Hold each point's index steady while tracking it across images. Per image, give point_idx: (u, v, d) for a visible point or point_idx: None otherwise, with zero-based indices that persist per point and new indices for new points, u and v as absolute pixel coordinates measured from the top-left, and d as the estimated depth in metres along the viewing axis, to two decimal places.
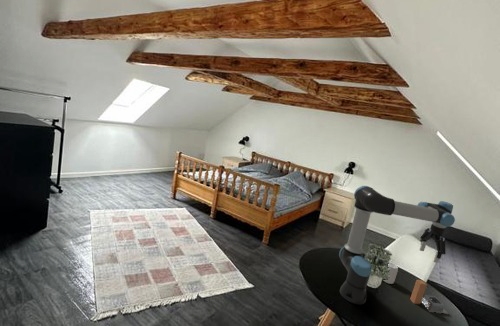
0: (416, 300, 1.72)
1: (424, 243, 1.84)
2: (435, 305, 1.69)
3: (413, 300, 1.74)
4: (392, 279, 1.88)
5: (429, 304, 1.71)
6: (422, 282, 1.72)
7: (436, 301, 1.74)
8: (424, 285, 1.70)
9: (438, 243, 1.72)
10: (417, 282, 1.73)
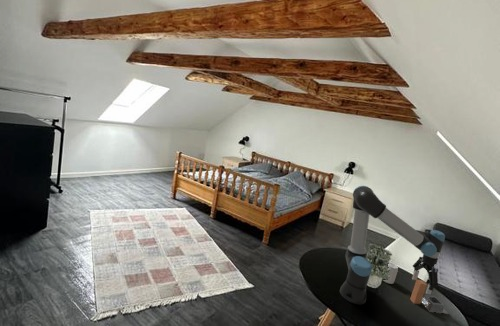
0: (416, 300, 1.72)
1: (417, 272, 1.78)
2: (435, 305, 1.69)
3: (413, 300, 1.74)
4: (392, 279, 1.88)
5: (429, 304, 1.71)
6: (422, 282, 1.72)
7: (436, 301, 1.74)
8: (424, 285, 1.70)
9: (430, 274, 1.66)
10: (417, 282, 1.73)
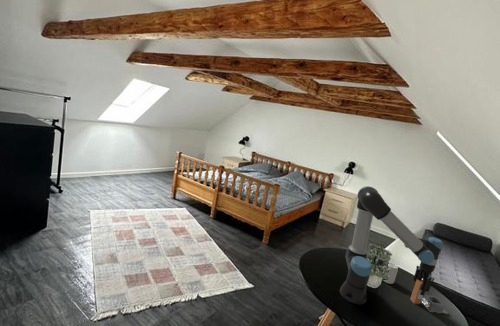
0: (416, 300, 1.72)
1: None
2: (435, 305, 1.69)
3: (413, 300, 1.74)
4: (392, 279, 1.88)
5: (429, 304, 1.71)
6: None
7: (436, 301, 1.74)
8: None
9: (425, 281, 1.69)
10: (417, 282, 1.73)
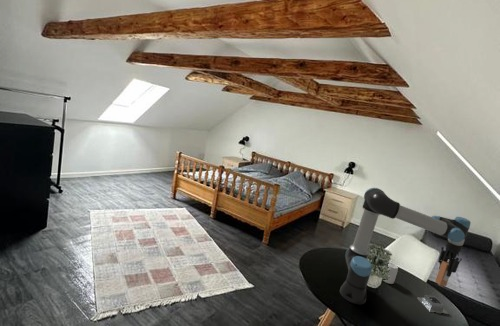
0: (441, 281, 1.68)
1: None
2: (435, 305, 1.69)
3: (439, 282, 1.69)
4: (392, 279, 1.88)
5: (429, 304, 1.71)
6: (448, 263, 1.67)
7: (436, 301, 1.74)
8: None
9: (451, 261, 1.64)
10: (443, 263, 1.68)
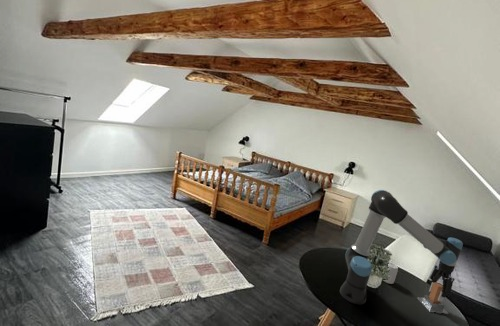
0: None
1: None
2: (435, 305, 1.69)
3: None
4: (392, 279, 1.88)
5: (429, 304, 1.71)
6: (440, 285, 1.71)
7: None
8: (442, 288, 1.69)
9: (445, 282, 1.66)
10: (434, 285, 1.72)
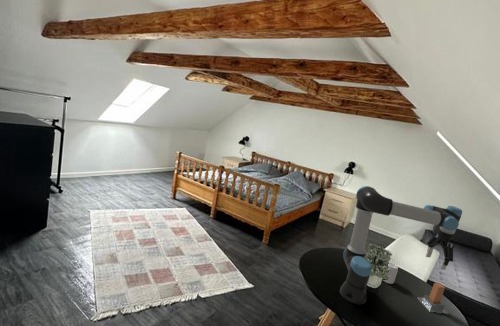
0: None
1: (431, 249, 1.77)
2: (435, 305, 1.69)
3: None
4: (392, 279, 1.88)
5: (429, 304, 1.71)
6: (440, 285, 1.70)
7: None
8: (442, 288, 1.69)
9: (445, 249, 1.65)
10: (435, 285, 1.71)
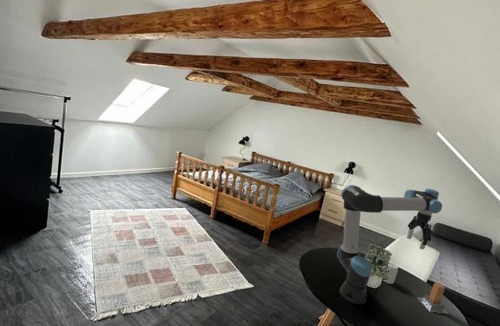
0: None
1: (411, 231, 1.86)
2: (435, 305, 1.69)
3: None
4: (392, 279, 1.88)
5: (429, 304, 1.71)
6: (440, 285, 1.70)
7: None
8: (442, 288, 1.69)
9: (424, 230, 1.74)
10: (435, 285, 1.71)
